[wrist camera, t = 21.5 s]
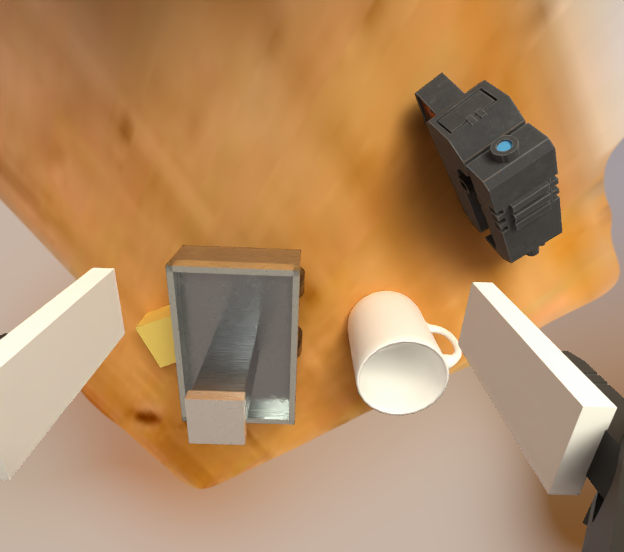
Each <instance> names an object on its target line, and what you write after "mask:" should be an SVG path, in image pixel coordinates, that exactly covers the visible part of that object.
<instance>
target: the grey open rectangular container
mask: <svg viewBox="0 0 624 552" xmlns="http://www.w3.org/2000/svg"><path fill="white" fill-rule="evenodd" d="M300 260H301V250H292V249H266V248H241V247H215V246H190V245H183V246H182V247H181V248H180V249H179V251H178V252H177V253H176V254H175V255H174V256H173V257H172V259H171V260H170V261H169V262H168V263H167V264H166V275H167V284H168V293H169V303H170V312H171V321H172V330H173V339H174V349H175V358H176V367H177V376H178V385H179V394H180V404H181V413H182V421H187V419H186V409H185V397H186V394H187V392H188V390H192V389H193V386H194V384H195V381H196V379H197V376H198V374H199V371H200V369H201V366H202V364H203V361H204V359H205V356H206V354H207V351H208V349H209V347H210V344H211V342H212V339H213V337H214V334H215V332H216V329H217V327H218V326H233V327H258V364H257V370H256V375H255V380H254V385H253V390H252V395H251V400H250V405H249V411H248V416H247V421H246V423H263V424H294V423H295V401H296V375H297V358H298V357H299V355H300V354H301V351H302V330H301V328H300V327H299V326H298V318H299V298H300V297H301V296H302V295H303V294H304V277H305V271H304V269H303V268H301V267H300Z"/></svg>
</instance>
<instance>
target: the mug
mask: <svg viewBox="0 0 624 552" xmlns="http://www.w3.org/2000/svg"><path fill="white" fill-rule="evenodd" d="M347 331H348V337H349V343H350V349H351V355H352V361H353V367H354V373H355V379H356V385H357V389H358V393H359V395H360V396H361V398H362V399H363V401H364V402H365V403H366V404H367V405H368V406H370V407H371V408H373V409H375V410H377V411H379V412H381V413H385V414H389V415H407V414H413V413H416V412H419V411H421V410H424V409H426V408H427V407H429V406H430V405H432V404H433V403H435V402H436V401H437V400H438V398H439V397H440V396H441V395H442V394H443V392H444V390H445V389H446V387H447V384H448V379H449V369H450V368H451V367H453V366H454V365H455V364H456V363H457V362H458V361H459V359H460V358H461V354H462V351H461V349H460V347H459V346H458V341H457V339H456V338H455V336H454V335H453V334H452V333H451V332H449V331H448V330H446V329H445V328H443V327H440V326H437V325H431V324H428V323H426V322H425V320H424V318H423V316H422V314H421V312H420V310H419V308H418V307H417V306H416V304H415V303H414V302H413V301H412V300H411V299H410V298H409V297H407V296H405V295H403V294H402V293H398V292H394V291H379V292H374V293H372V294H369V295H367V296H365V297H364V298H362V299H361V300H360V301H359V302H357V303H356V305H355V306H354V307H353V309H352V310H351V312H350V315H349V318H348V329H347ZM432 333H438V334H441V335H443V336H445V337H446V338H447V339H448V340H449V341H451V343H452V344H453V346H454V353H453V354H452V355H447V354H442V352H441V350H440V348H439V346H438V345H437V343H436V341H435V339H434V337H433V335H432Z"/></svg>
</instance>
